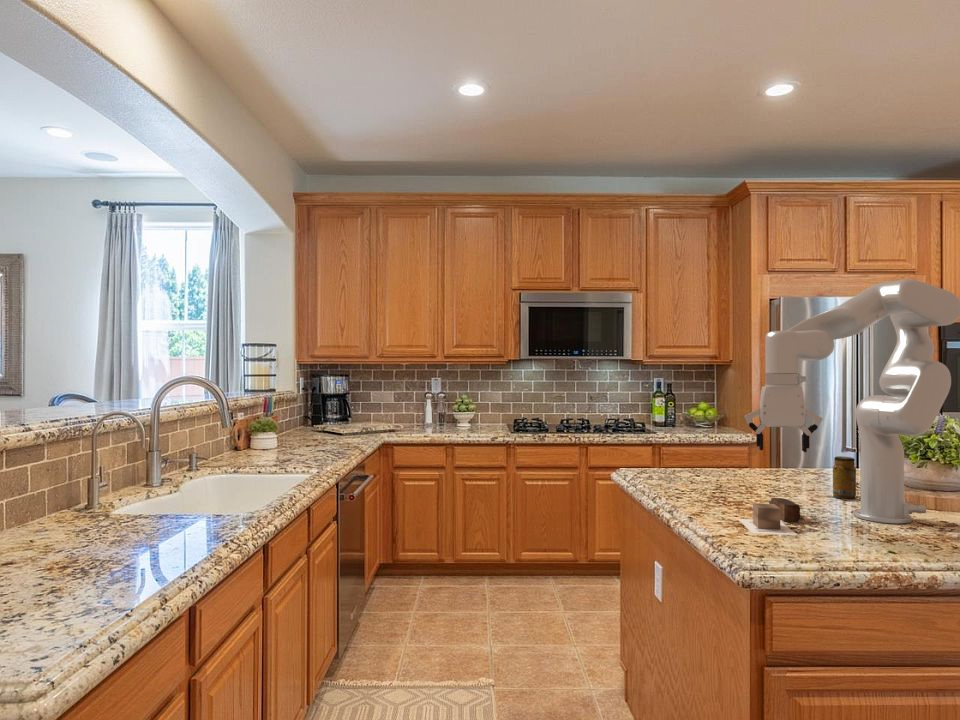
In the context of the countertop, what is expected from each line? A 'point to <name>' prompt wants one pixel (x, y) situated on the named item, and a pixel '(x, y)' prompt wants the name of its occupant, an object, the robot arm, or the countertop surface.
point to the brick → (787, 509)
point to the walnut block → (766, 516)
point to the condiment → (844, 479)
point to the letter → (753, 529)
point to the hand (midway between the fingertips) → (782, 450)
